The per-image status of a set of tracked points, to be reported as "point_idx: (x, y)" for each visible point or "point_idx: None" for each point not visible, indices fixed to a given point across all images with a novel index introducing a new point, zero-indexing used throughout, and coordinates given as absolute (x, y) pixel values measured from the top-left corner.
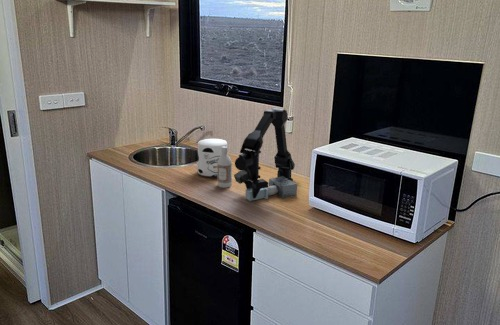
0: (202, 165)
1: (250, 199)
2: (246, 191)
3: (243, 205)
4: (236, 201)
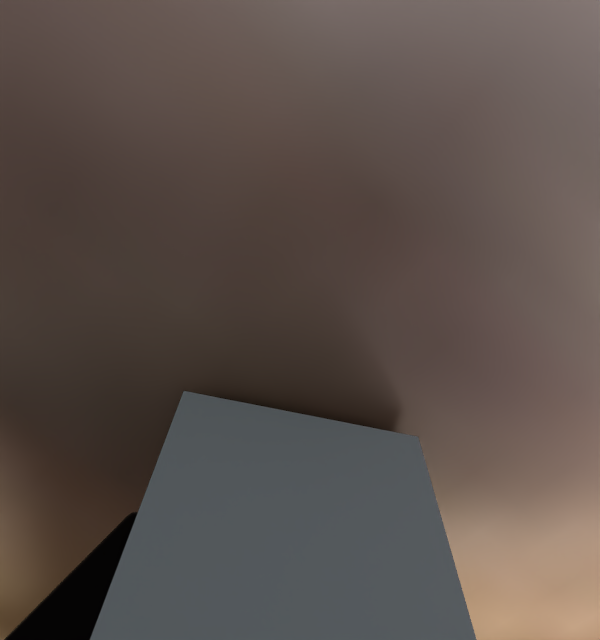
0: None
1: (174, 433)
2: (402, 631)
3: (32, 32)
4: (467, 89)
